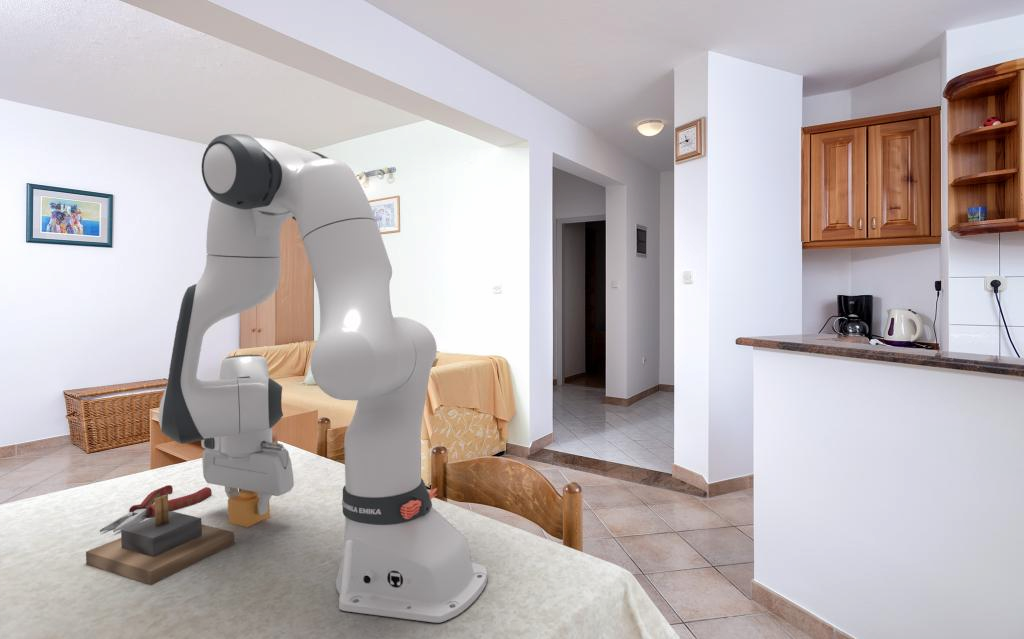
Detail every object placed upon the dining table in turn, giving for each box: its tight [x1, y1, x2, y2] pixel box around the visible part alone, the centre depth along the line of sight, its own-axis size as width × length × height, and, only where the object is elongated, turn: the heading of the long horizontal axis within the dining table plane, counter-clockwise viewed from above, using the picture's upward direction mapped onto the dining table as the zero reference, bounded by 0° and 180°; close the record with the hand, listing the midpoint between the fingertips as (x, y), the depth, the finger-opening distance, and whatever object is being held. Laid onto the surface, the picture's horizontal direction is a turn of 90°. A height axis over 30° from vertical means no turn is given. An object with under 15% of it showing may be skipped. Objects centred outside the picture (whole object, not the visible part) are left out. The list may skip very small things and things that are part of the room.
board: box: [85, 495, 235, 585], centre depth 86 cm, size 16×14×10 cm
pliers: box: [99, 485, 213, 533], centre depth 103 cm, size 12×20×3 cm, turn 172°
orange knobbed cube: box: [227, 490, 271, 528], centre depth 99 cm, size 5×5×6 cm
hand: (248, 510), depth 99 cm, fingers closed on orange knobbed cube, 5 cm apart
